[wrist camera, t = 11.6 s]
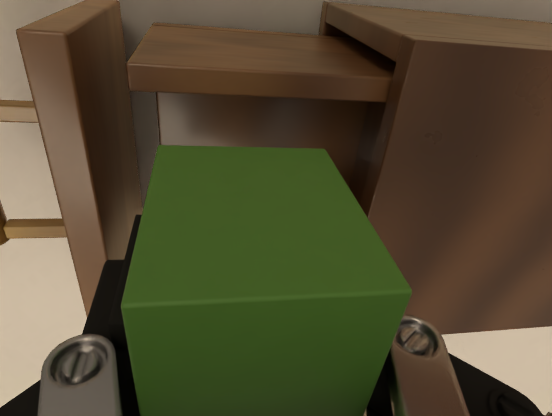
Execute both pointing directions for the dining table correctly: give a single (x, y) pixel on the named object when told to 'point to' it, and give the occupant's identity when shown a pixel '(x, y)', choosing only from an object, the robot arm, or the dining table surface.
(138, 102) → the dining table surface
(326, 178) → the snack box
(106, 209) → the drawer
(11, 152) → the dining table surface
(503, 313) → the cabinet
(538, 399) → the dining table surface
